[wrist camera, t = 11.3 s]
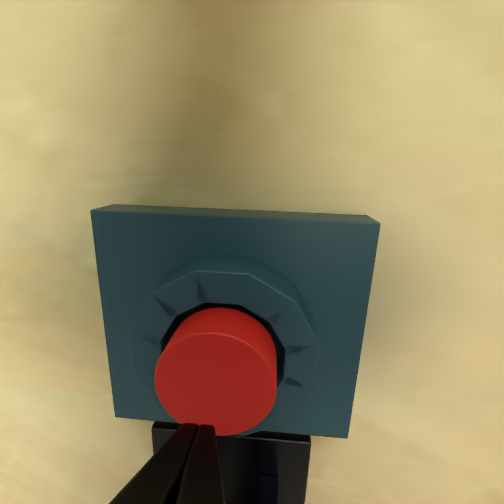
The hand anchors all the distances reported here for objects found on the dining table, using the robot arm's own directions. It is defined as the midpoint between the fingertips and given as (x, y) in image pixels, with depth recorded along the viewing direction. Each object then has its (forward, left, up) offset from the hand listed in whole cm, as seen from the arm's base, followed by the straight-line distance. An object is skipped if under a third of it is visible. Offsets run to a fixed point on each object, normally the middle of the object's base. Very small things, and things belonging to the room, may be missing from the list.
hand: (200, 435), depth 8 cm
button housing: (0, 0, -7) cm, 7 cm away
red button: (0, 0, -3) cm, 3 cm away
